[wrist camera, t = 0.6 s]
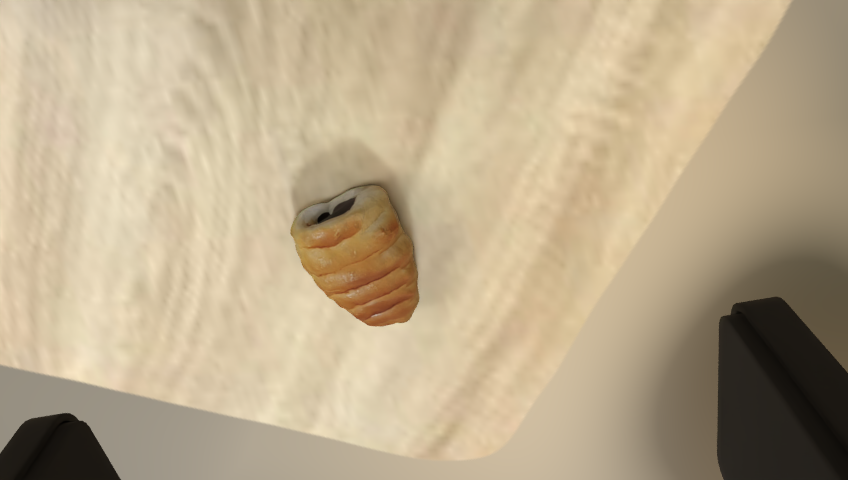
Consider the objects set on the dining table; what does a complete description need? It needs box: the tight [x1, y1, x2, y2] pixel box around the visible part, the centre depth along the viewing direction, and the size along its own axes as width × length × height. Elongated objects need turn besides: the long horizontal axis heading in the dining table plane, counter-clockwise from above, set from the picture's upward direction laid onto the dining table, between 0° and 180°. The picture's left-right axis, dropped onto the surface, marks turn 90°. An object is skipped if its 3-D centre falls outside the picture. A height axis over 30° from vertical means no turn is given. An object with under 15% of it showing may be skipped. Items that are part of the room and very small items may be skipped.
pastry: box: [291, 185, 419, 326], centre depth 40 cm, size 9×7×4 cm
